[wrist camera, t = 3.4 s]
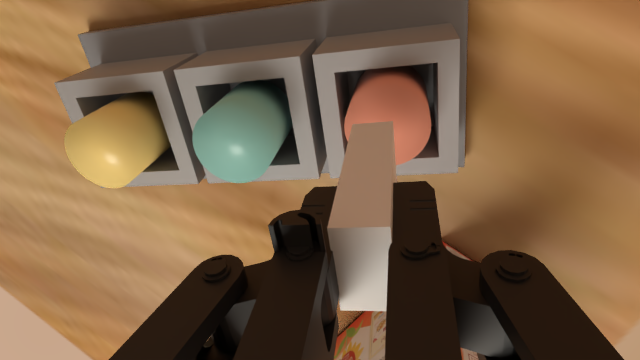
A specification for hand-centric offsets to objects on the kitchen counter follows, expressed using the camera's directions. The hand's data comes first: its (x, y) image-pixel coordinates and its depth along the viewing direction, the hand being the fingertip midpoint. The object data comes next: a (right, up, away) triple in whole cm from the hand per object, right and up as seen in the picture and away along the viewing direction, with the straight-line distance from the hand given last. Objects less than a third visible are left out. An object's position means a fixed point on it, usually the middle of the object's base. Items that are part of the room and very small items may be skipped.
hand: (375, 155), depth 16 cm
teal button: (-5, +3, +7) cm, 9 cm away
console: (-5, +4, +10) cm, 12 cm away
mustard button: (-12, +2, +8) cm, 15 cm away
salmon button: (+2, +3, +6) cm, 7 cm away
